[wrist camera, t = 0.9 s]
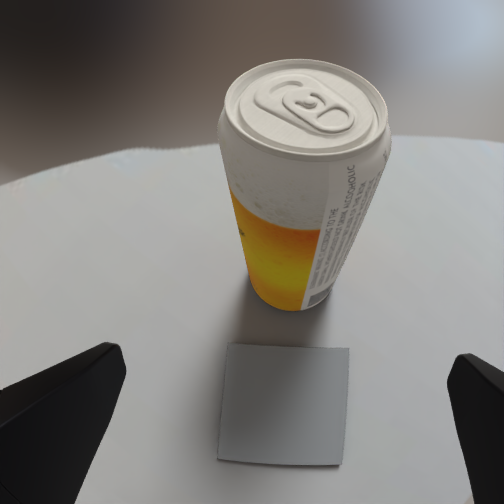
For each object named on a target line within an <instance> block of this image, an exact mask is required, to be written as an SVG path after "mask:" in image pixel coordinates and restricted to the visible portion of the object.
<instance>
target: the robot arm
mask: <svg viewBox="0 0 504 504" xmlns="http://www.w3.org/2000/svg"><path fill="white" fill-rule="evenodd" d="M125 376H126V366H125V362H124V359H123V355H122V351H121V348H120V346H119V345H118V344H115V343H109V342H104V343H101V344H99V345H97V346H95V347H93V348H91V349H89V350H86V351H84V352H82V353H80V354H78V355H76V356H74V357H71V358H69V359H67V360H65V361H63V362H61V363H58V364H56V365H54V366H52V367H50V368H48V369H45V370H43V371H41V372H39V373H37V374H34V375H32V376H30V377H28V378H26V379H23V380H21V381H19V382H17V383H14V384H12V385H10V386H8V387H6V388H3V390H0V504H74V503H75V501H76V499H77V496H78V494H79V491H80V489H81V486H82V484H83V482H84V479H85V477H86V475H87V472H88V470H89V468H90V465H91V463H92V461H93V458H94V456H95V454H96V452H97V449H98V447H99V445H100V443H101V440H102V438H103V436H104V434H105V432H106V429H107V427H108V425H109V423H110V420H111V418H112V415H113V412H114V409H115V406H116V403H117V400H118V397H119V394H120V391H121V388H122V385H123V382H124V379H125ZM447 388H448V392H449V397H450V401H451V406H452V411H453V416H454V421H455V426H456V430H457V434H458V438H459V441H460V445H461V449H462V452H463V456H464V460H465V464H466V468H467V472H468V476H469V480H470V485H471V489H472V494H473V499H474V504H504V372H503V371H501V370H499V369H497V368H496V367H494V366H492V365H490V364H489V363H487V362H485V361H483V360H482V359H480V358H478V357H476V356H475V355H473V354H470V353H468V354H460V355H458V356H457V357H456V359H455V361H454V364H453V366H452V369H451V371H450V374H449V376H448V379H447Z"/></svg>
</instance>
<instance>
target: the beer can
mask: <svg viewBox="0 0 504 504" xmlns="http://www.w3.org/2000/svg"><path fill="white" fill-rule="evenodd" d="M387 121H388V112H387V107H386V104H385V102H384V100H383V98H382V96H381V95H380V93H379V92H378V91H377V89H376V88H375V87H374V86H373V85H371V83H369V82H368V81H367V80H365V79H364V78H363V77H361V76H360V75H358V74H356V73H354V72H352V71H350V70H348V69H346V68H343V67H341V66H338V65H335V64H331V63H327V62H323V61H317V60H308V59H288V60H280V61H274V62H270V63H266V64H263V65H260V66H258V67H255V68H253V69H251V70H249V71H247V72H245V73H244V74H242V75H241V76H240V77H239V78H237V79H236V80H235V81H234V82H233V83H232V85H231V86H230V88H229V89H228V91H227V94H226V97H225V103H224V108H223V111H222V113H221V115H220V118H219V122H218V127H217V135H218V141H219V145H220V150H221V154H222V159H223V163H224V167H225V172H226V176H227V181H228V185H229V190H230V194H231V198H232V203H233V207H234V212H235V216H236V220H237V225H238V229H239V233H240V238H241V242H242V246H243V251H244V255H245V259H246V264H247V268H248V272H249V277H250V281H251V284H252V286H253V288H254V290H255V291H256V293H257V294H258V295H259V296H260V298H261V299H263V300H264V301H265V302H266V303H268V304H269V305H271V306H273V307H275V308H278V309H281V310H286V311H300V310H305V309H308V308H311V307H313V306H315V305H317V304H318V303H320V302H321V301H322V300H323V299H324V298H325V297H326V296H327V295H328V294H329V292H330V291H331V289H332V287H333V285H334V283H335V281H336V279H337V277H338V275H339V273H340V270H341V268H342V266H343V264H344V262H345V260H346V258H347V255H348V253H349V251H350V249H351V247H352V245H353V242H354V240H355V238H356V236H357V233H358V231H359V229H360V226H361V224H362V222H363V220H364V217H365V215H366V213H367V210H368V208H369V205H370V203H371V201H372V198H373V196H374V193H375V191H376V188H377V186H378V183H379V181H380V178H381V176H382V173H383V171H384V168H385V165H386V163H387V160H388V158H389V155H390V151H391V144H392V141H391V133H390V129H389V125H388V122H387Z"/></svg>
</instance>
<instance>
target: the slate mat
mask: <svg viewBox="0 0 504 504" xmlns="http://www.w3.org/2000/svg"><path fill="white" fill-rule="evenodd" d="M348 374H349V348H313V347H285V346H265V345H250V344H236V343H228V348H227V358H226V369H225V379H224V390H223V400H222V411H221V422H220V433H219V445H218V456H217V459H224V460H232V461H241V462H252V463H265V464H284V465H337V464H342V460H343V450H344V439H345V427H346V413H347V397H348Z"/></svg>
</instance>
